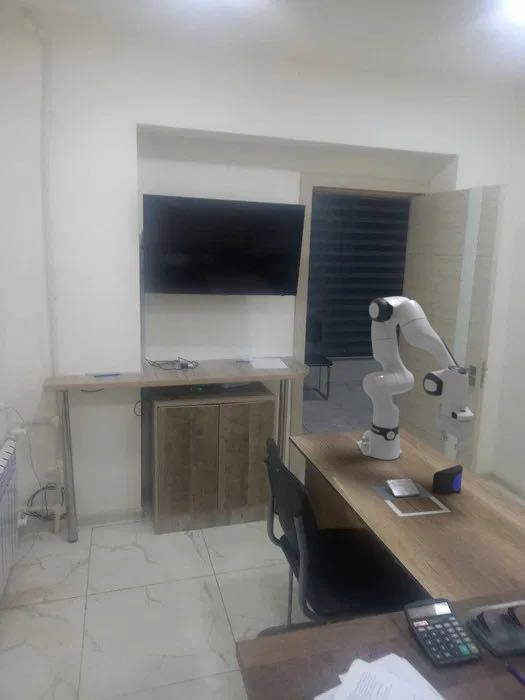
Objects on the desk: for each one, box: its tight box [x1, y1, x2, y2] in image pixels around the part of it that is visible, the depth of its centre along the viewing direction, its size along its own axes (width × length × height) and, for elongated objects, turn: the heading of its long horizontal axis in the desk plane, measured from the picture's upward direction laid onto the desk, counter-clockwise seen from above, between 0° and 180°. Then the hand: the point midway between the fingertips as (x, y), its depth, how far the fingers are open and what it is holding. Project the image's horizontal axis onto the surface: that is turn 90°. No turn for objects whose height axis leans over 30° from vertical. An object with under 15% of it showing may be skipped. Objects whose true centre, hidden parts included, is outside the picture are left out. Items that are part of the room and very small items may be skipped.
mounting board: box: [371, 483, 452, 517], centre depth 186 cm, size 22×20×1 cm
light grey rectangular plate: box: [385, 478, 420, 498], centre depth 190 cm, size 8×10×1 cm
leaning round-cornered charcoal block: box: [431, 464, 464, 495], centre depth 194 cm, size 16×5×9 cm, turn 123°
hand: (450, 444), depth 192 cm, fingers open, 8 cm apart
